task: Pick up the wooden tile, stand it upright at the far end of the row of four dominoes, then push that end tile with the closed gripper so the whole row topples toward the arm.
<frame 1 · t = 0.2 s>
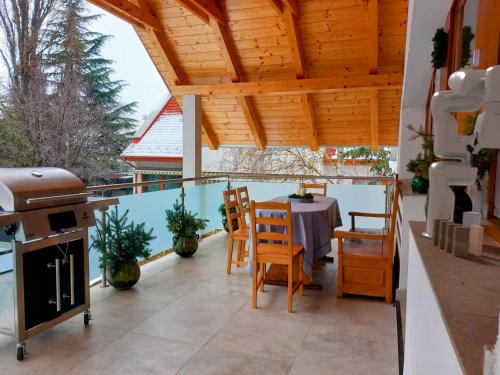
hand: (491, 168, 112), 31 cm above the worktop, fingers open, 9 cm apart
skincare box: (469, 243, 151), on the worktop
domino 4: (445, 248, 140), on the worktop
domino 5: (438, 244, 145), on the worktop
domino 2: (459, 255, 130), on the worktop
domino 3: (452, 251, 135), on the worktop
end tile: (475, 254, 133), on the worktop
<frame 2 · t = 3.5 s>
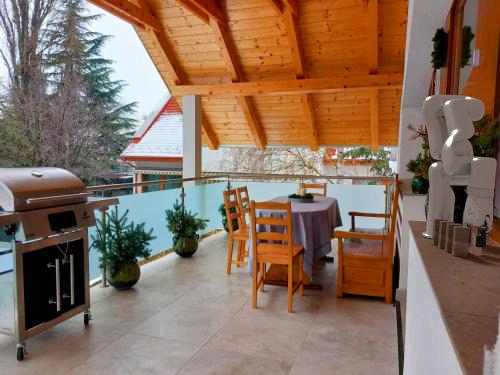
hand: (475, 244, 132), 3 cm above the worktop, fingers closed on end tile, 4 cm apart
end tile: (475, 254, 133), on the worktop, touching gripper
everything else where it was.
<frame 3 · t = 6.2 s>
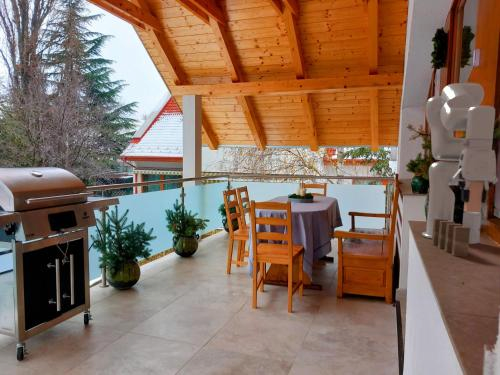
hand: (473, 201, 123), 19 cm above the worktop, fingers closed on end tile, 4 cm apart
end tile: (472, 211, 123), point 16 cm above the worktop, touching gripper
everything else where it was.
when the fingers open (4 cm above the worktop, at t = 9.3 s): end tile stays where it is, on the worktop.
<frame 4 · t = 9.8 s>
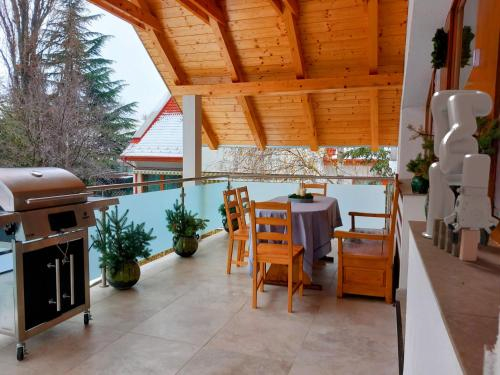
hand: (468, 244, 124), 5 cm above the worktop, fingers open, 9 cm apart
end tile: (467, 259, 125), on the worktop
everything else where it was.
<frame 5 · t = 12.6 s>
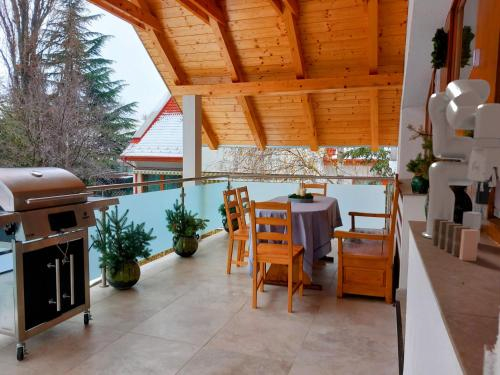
hand: (481, 204, 118), 19 cm above the worktop, fingers closed
nothing on the worktop moved.
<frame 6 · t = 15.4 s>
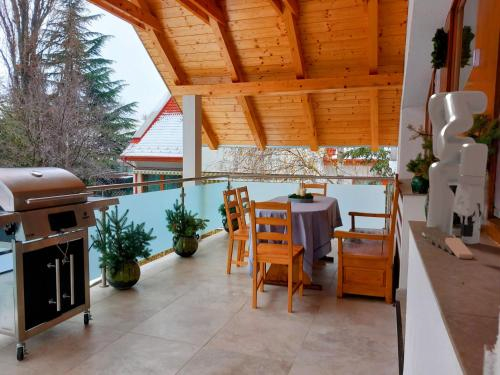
hand: (466, 236, 126), 8 cm above the worktop, fingers closed
domino 4: (444, 245, 140), point 1 cm above the worktop, tilted 69°, touching domino 3, domino 5
domino 5: (437, 242, 145), point 1 cm above the worktop, tilted 69°, touching arm, domino 4
domino 2: (457, 252, 131), point 1 cm above the worktop, tilted 70°, touching domino 3, end tile
domino 3: (450, 248, 136), point 1 cm above the worktop, tilted 70°, touching domino 2, domino 4
end tile: (465, 256, 126), point 1 cm above the worktop, tilted 70°, touching domino 2
everything else where it was.
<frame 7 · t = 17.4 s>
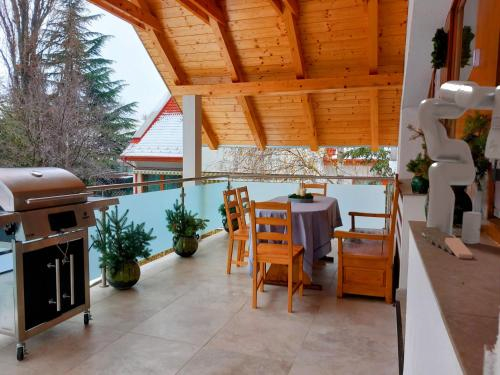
hand: (497, 180, 124), 26 cm above the worktop, fingers closed
nothing on the worktop moved.
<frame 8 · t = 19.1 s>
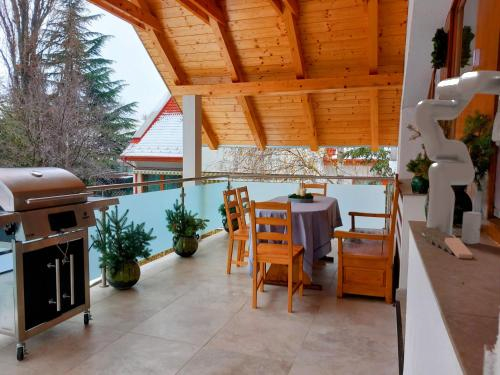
nothing on the worktop moved.
at the end: domino 5 tilted 70°; end tile tilted 70°; end tile 4.8 cm from the domino 2 (horizontally) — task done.
